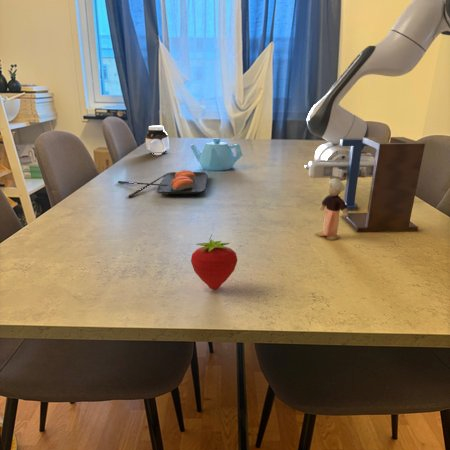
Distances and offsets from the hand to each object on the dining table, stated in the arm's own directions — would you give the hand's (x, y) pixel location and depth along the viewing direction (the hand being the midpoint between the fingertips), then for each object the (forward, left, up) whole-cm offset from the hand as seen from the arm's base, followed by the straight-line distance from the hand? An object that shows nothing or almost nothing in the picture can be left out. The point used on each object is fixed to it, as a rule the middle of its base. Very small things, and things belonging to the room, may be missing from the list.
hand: (354, 174), depth 111 cm
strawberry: (+37, +47, -9) cm, 61 cm away
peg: (0, -1, -9) cm, 9 cm away
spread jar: (+60, -97, -9) cm, 114 cm away
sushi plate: (+53, -29, -9) cm, 61 cm away
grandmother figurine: (+11, +22, -9) cm, 26 cm away
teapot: (+34, -61, -9) cm, 70 cm away
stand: (-3, +13, -9) cm, 16 cm away
